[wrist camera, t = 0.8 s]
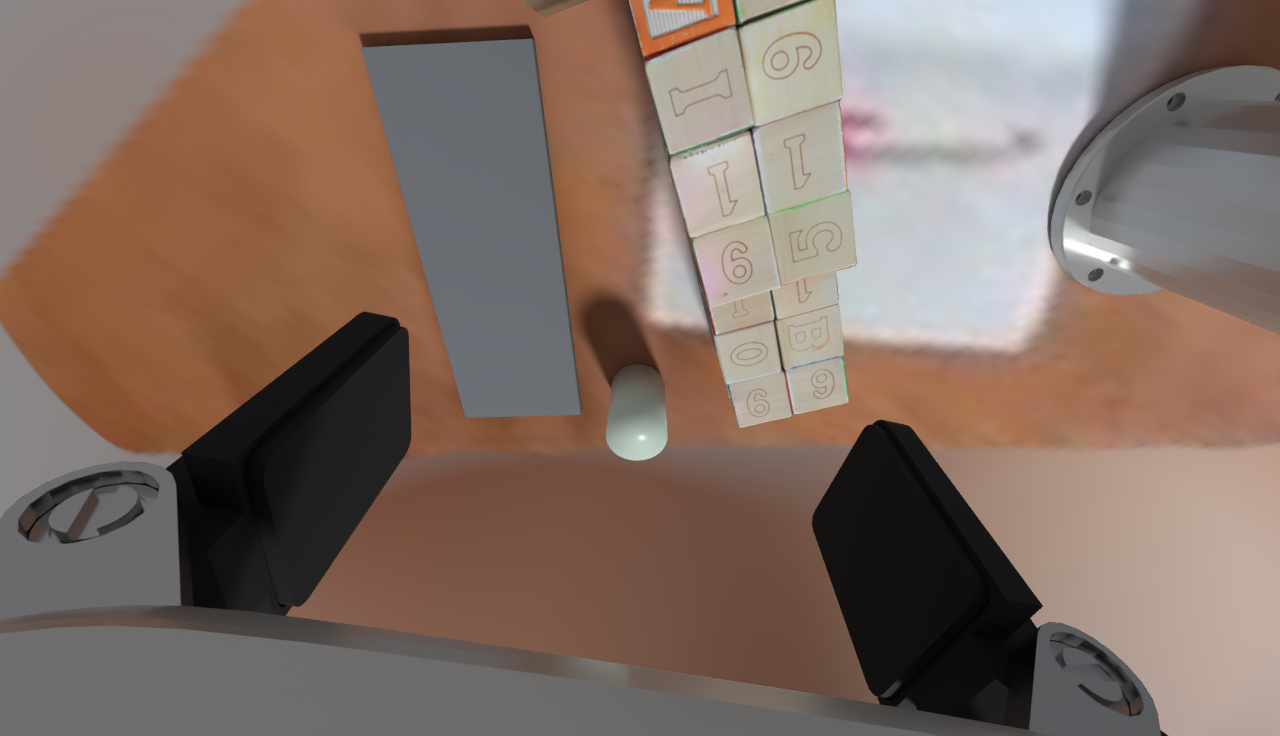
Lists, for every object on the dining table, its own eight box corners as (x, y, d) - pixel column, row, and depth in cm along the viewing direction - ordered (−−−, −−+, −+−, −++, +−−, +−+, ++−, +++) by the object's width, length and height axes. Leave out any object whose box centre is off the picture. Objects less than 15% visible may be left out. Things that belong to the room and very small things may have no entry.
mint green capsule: (664, 363, 35) (667, 411, 30) (664, 407, 37) (667, 459, 32) (609, 364, 35) (603, 413, 30) (613, 409, 37) (608, 461, 32)
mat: (534, 39, 25) (532, 38, 25) (581, 410, 37) (580, 414, 37) (366, 48, 25) (361, 47, 25) (468, 413, 38) (465, 417, 37)
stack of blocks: (802, 329, 34) (872, 441, 23) (715, 351, 35) (745, 468, 24) (748, -48, 23) (831, -155, 13) (626, -1, 24) (611, -66, 14)
